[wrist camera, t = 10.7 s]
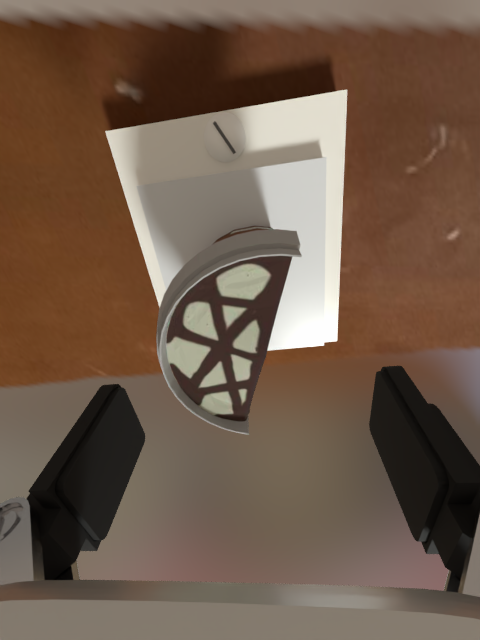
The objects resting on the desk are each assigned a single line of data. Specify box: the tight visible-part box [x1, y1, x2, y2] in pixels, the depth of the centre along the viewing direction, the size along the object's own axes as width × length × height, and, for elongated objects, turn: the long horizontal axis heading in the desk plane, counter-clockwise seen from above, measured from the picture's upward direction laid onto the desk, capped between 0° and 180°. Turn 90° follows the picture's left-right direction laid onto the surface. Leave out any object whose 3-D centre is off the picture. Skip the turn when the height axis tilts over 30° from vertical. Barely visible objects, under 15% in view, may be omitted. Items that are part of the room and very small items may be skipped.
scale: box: [105, 90, 347, 350], centre depth 23 cm, size 16×19×4 cm
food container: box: [157, 226, 302, 434], centre depth 18 cm, size 12×6×10 cm, turn 169°
